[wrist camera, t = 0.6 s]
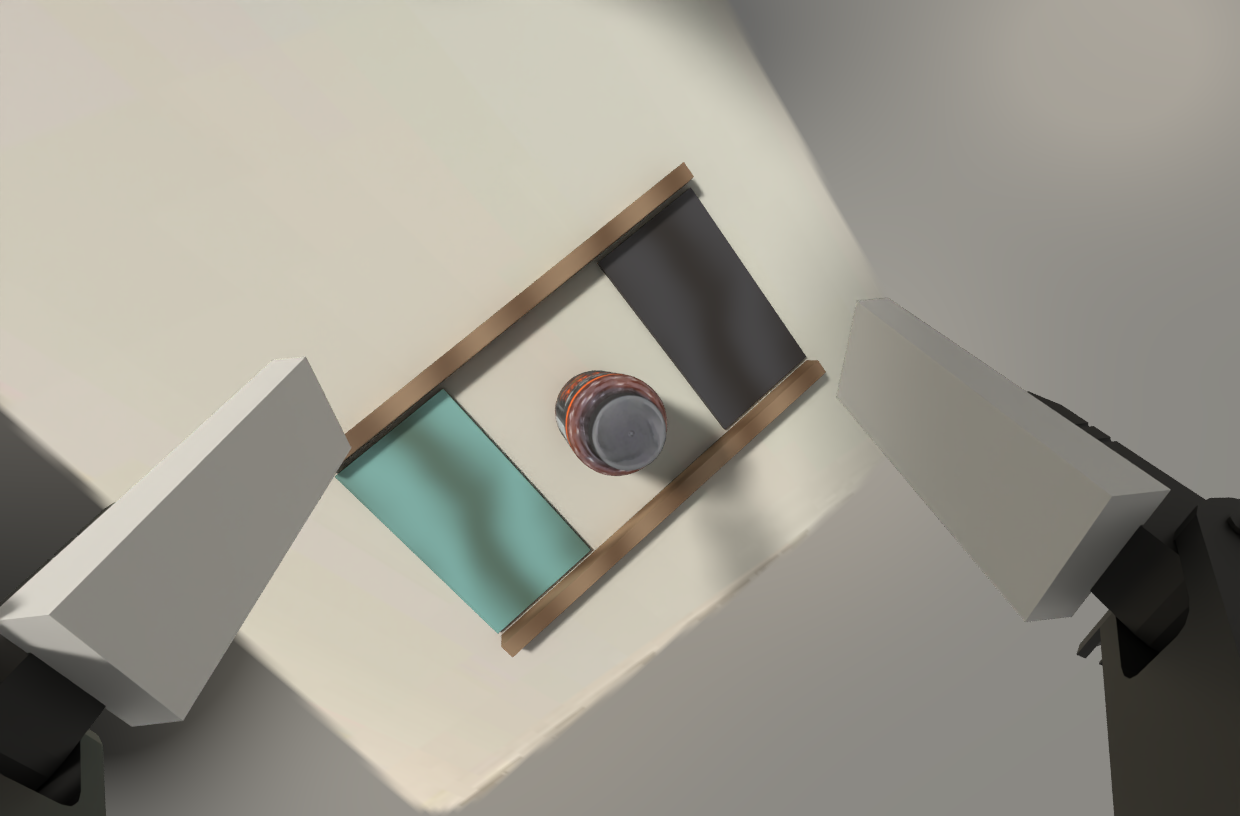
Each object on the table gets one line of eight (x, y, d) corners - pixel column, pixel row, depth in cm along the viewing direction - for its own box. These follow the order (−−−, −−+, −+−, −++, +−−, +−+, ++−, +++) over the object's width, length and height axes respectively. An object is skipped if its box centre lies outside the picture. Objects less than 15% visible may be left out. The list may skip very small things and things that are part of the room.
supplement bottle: (600, 353, 35) (642, 350, 24) (647, 415, 37) (708, 439, 26) (536, 404, 35) (550, 425, 24) (587, 465, 36) (622, 512, 25)
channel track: (512, 645, 36) (512, 657, 35) (318, 458, 32) (309, 462, 30) (814, 371, 40) (825, 372, 38) (676, 170, 35) (683, 162, 34)
